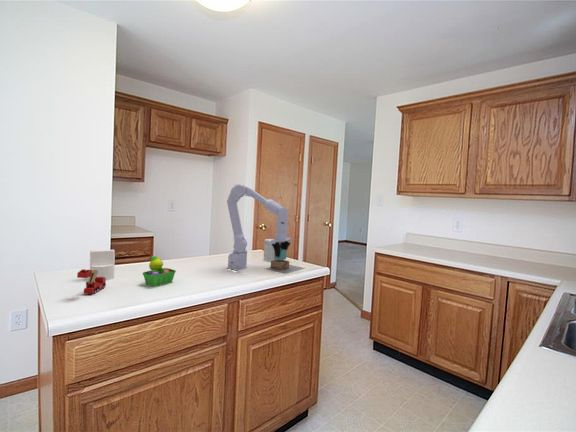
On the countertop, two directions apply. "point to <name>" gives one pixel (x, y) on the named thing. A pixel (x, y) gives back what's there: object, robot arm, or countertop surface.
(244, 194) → the robot arm
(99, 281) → the toy fire truck
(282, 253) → the teal block
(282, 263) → the base brick
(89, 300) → the countertop surface
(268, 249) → the small box
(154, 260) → the fruit basket
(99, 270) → the base with upright slab
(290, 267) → the baseplate
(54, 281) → the countertop surface
